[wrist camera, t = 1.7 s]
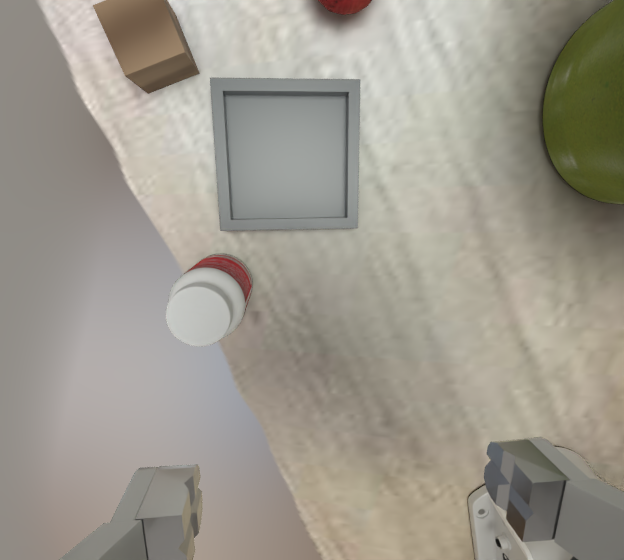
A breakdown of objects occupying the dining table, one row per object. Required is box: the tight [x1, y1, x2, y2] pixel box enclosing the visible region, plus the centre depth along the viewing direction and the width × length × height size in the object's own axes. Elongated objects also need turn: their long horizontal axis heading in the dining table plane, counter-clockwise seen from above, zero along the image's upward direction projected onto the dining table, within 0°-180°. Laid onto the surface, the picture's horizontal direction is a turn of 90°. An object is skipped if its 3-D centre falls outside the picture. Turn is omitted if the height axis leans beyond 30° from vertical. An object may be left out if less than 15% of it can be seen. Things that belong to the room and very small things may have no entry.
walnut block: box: [93, 0, 199, 94], centre depth 30 cm, size 5×5×5 cm
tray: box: [210, 78, 360, 231], centre depth 34 cm, size 13×13×2 cm
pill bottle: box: [166, 254, 252, 347], centre depth 32 cm, size 6×6×11 cm
